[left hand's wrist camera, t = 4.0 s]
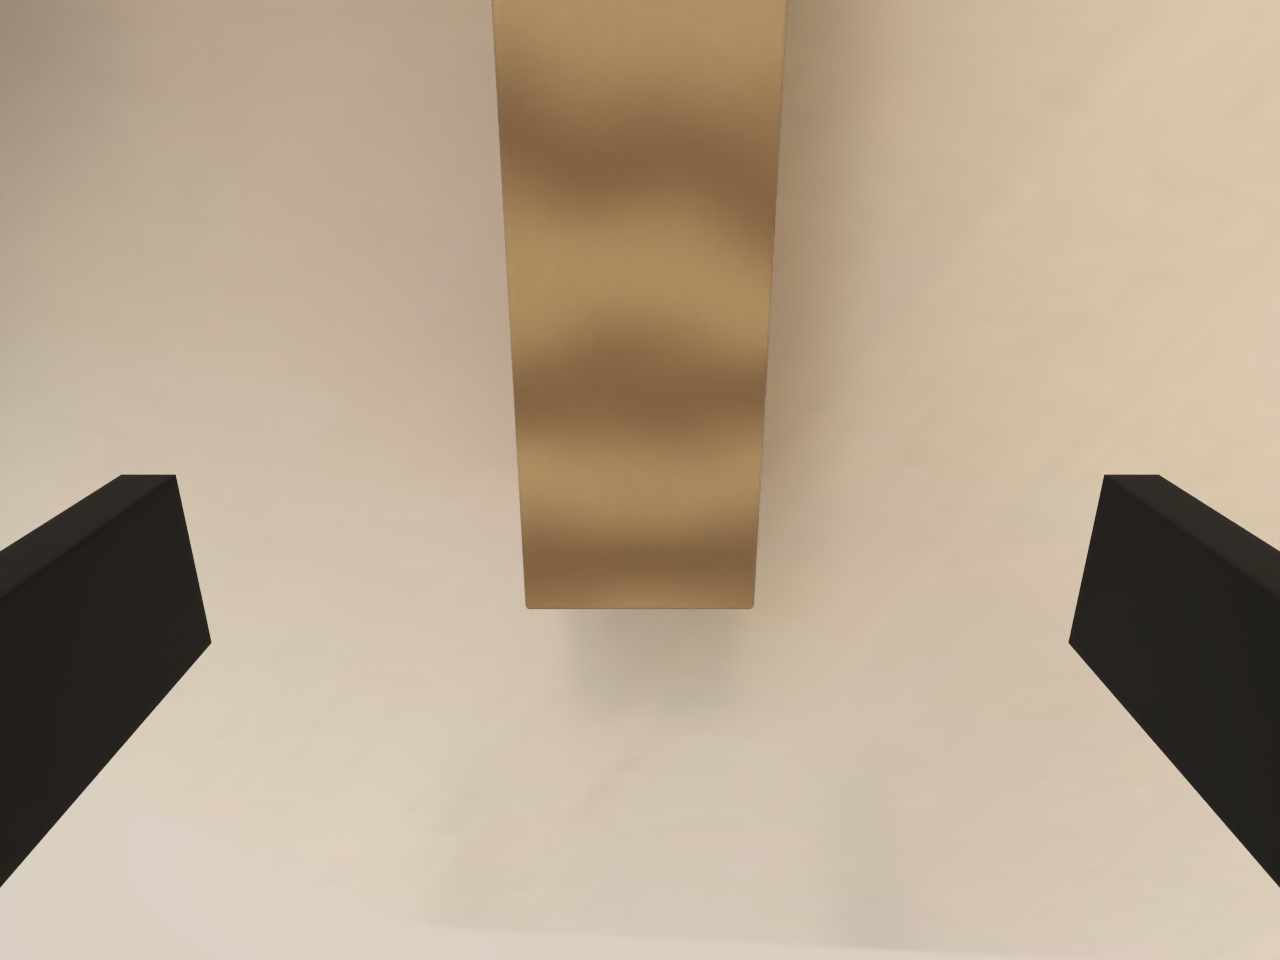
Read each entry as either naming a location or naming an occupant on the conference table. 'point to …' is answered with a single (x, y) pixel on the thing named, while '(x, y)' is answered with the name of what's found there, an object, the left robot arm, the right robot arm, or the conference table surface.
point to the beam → (639, 291)
